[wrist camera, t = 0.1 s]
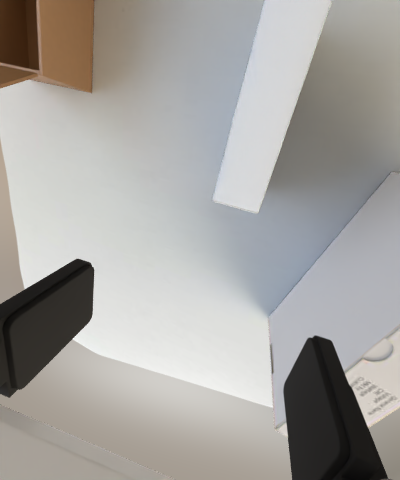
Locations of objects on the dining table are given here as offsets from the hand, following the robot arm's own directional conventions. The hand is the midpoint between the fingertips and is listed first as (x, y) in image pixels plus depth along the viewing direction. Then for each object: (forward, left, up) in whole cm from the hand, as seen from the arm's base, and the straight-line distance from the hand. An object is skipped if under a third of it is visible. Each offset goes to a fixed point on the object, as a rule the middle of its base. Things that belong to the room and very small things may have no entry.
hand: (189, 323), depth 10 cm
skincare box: (-12, 0, -31) cm, 34 cm away
